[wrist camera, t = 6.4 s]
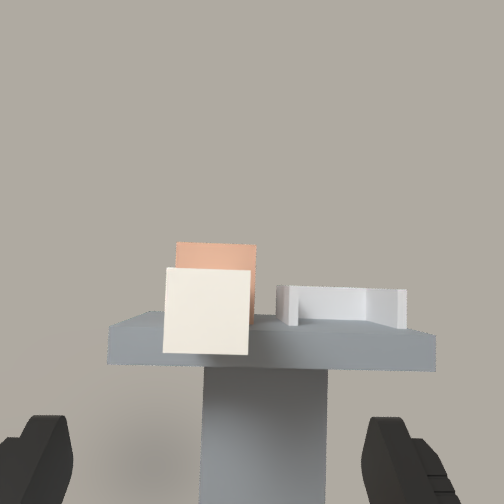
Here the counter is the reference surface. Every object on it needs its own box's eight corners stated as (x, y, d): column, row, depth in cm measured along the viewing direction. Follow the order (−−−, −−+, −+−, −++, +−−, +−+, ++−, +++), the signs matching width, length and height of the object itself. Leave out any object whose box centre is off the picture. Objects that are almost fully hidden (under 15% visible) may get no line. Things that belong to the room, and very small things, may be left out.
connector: (133, 352, 16) (141, 210, 16) (180, 316, 32) (184, 248, 33) (275, 355, 16) (279, 216, 16) (249, 318, 33) (251, 250, 33)
